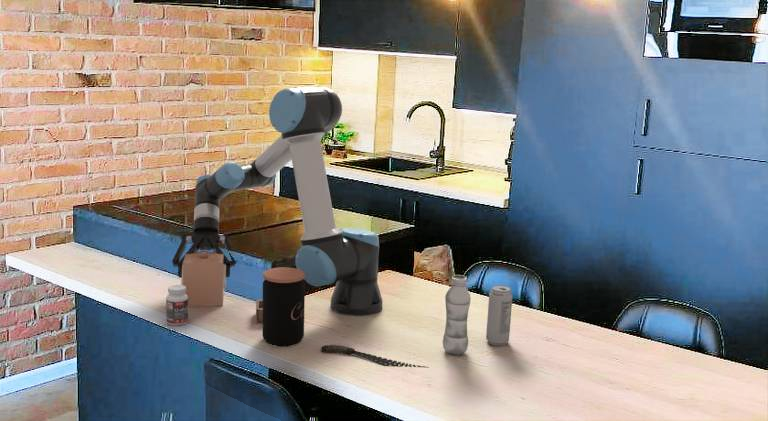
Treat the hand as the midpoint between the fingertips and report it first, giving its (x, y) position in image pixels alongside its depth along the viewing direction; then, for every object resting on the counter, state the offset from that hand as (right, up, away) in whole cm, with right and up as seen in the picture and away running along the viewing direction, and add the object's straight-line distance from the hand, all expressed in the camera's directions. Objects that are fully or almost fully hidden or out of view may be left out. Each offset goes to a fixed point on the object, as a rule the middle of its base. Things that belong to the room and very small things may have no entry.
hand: (203, 286), depth 231 cm
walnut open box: (+22, -8, -9) cm, 24 cm away
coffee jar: (+26, -12, -24) cm, 37 cm away
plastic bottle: (+70, -14, -27) cm, 77 cm away
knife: (+49, -15, -34) cm, 62 cm away
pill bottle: (-4, -8, -14) cm, 17 cm away
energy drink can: (+82, -13, -20) cm, 85 cm away
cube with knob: (-1, -4, +4) cm, 6 cm away
